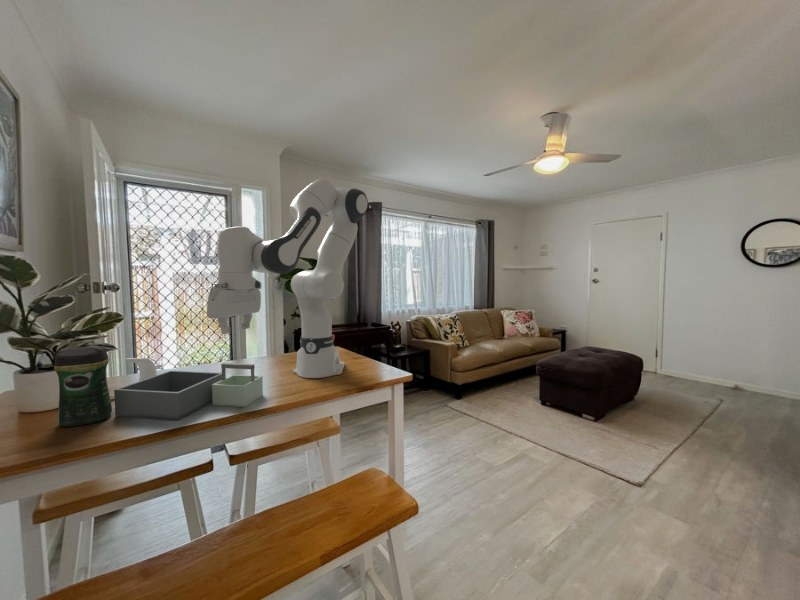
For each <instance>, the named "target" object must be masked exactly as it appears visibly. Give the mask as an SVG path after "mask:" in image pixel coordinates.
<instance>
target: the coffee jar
mask: <svg viewBox="0 0 800 600" xmlns="http://www.w3.org/2000/svg"><path fill="white" fill-rule="evenodd" d="M109 361H110V359H109V354H108V351H107V347H106V346H80V347H71V348H70V347H69V348H65V349H62V350H58V351H57V352H56V354H55V357H54V364H53V365H54V366H53V369H54V371H55V372H56V374H57V376H58V384H59V385H58V386H59V388H58V390H59V391H58V392H59V394H58V395H59V396H58V398H59V399H58V409H57V410H58V413H57V422H58V425H59V426H61V427H66V428H67V427H73V426H74V427H75V426H81V425H87V424H88V425H89V424H93V423H97V422H101V421H102V420H104V419H107V418H109V417H110V416H111V414H112V413H113V408H112V401H111V395H110V392H109V387H108V382H107V381H108V380H107V366H108V365H109Z"/></svg>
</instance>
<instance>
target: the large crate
mask: <svg viewBox="0 0 800 600" xmlns="http://www.w3.org/2000/svg"><path fill="white" fill-rule="evenodd" d="M221 380H222V372H213V371H212V372H211V371H210V372H209V371H187V370H169V371H165V372H162V373H160V374H157V375H156V376H153V377H150V378H148V379H145V380H142V381H139V380H138V381H136V382H133V383H130V384H127V385H124V386H121V387H119V388H115V389H114V390H113V392H114V393H113V395H114V397H113V398H114V414H115V417H117V418H118V417H120V418H136V419H137V418H139V419H152V420H163V421H164V420H166V421H167V420H168V421H180V420H183V419H184V418H186V417H188V416H190V415H192V414H194V413H195V412H197V411H199V410H200V409H203V408H204V407H206V406H209V405H210V404H213V401H212V384H215V383H217V382H219V381H221Z"/></svg>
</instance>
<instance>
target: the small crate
mask: <svg viewBox="0 0 800 600" xmlns="http://www.w3.org/2000/svg"><path fill="white" fill-rule="evenodd" d="M220 366H221V373H222V380H221V381H219V382H217V383H215V384H212V401H213V402H212V406H215V407H216V406H217V407H230V408H231V407H232V408H246V407H247V406H249V405H251V404H252V403H253V402H255V401H256V400H258V399H260V398H261V397H263V395H264V389H263V388H264V387H263V386H264V384H263V383H264V382H263V375H255V364H253V363H234V362H233V363H232V362H231V363H230V362H223V363H221V364H220ZM226 369H234V370H236V369H237V370H250V375H244V374H232V375H230V376H228V377H226V376H227V374H226V371H227V370H226Z"/></svg>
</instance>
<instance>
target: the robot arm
mask: <svg viewBox="0 0 800 600" xmlns="http://www.w3.org/2000/svg"><path fill="white" fill-rule="evenodd" d="M368 207H369V201H368V197H367V195H366V193H365V191H362V190H360V189H357V188H348V187H335V185H334V184H333V182H331V181H330V180H328V179H325V178H318V179H316V180H314V181H312V182H311V183H309V184H308V185H307V186H305V188H303V189H302V190H301V191H300V192H299V193H298V194H297V195H296V196H295V198H294V199H293V200H292V202H291V203H290V206H289V212H290V215H291V217H292V219H293V221H294V223H293V224H292V226H291V227H290V228H289V230H288V231H287V232H286V233H285V234H284V235H283V236H280V237H278V238H275V239H271V240H270V239H269V240H266V239H263V238H261V237H259V235H257V234H255V233H254V232H253V231H251V229H250V228H249V227H247V226H232V227H226V228H223V229H222V230H221V231H220V233H219V235H218V244H217V258H218V261H219V267H218V272H217V277H218V279H217V280H218V281H217V282H218V283H213V285H212V287H210V289H209V293H208V296H207V302H206V303H207V304H206V315H207V317H208V318H209V319H215V320H216V319H217V323H218V325H219V327H220V332H221V334H222V335H223V334H225V335H227V334H230V333H231V326H229V325H228V321H229V318H231V317H238V316H243V317H244V318H243V322H241V329H242V330H247V329H250V327H251V325H250V324H251V321H252V318H253V314H256V313H259V312H260V310H261V304H262V303H261V302H262V301H261V300H262V299H261V297H262V296H261V295H262V294H261V291H260V290H261V289H262V282H261V281H259V279H256V278H255V277H254V276H253V272H256V273H264V274H265V273H266V274H270V273H271V274H279V275H287V274H289V273H290V272H292V271H294V270H295V268H296V267H297V266H298V263H299V261H300V257H301V255H302V252H303V250H304V249H305V246H306V245H307V244H308V243H309V241H310V239H311V238H312V237H313V236H314V234H315V233H316V231H317V229H318V228H319V226H320V224H321V221H322V220H323V219H324V218H325V217H332V224H331V225H330V227H328V230H327V231H326V233H325V235H324V236H323V239H322V241H321V242H320V245H319V247H318V248H317V250H316V255H317V262H316V266H315V267H314V269H310V270H309V269H307V270H306V269H305V270H302V271H300V272H298V273H296V274H295V275H293V276H292V278H291V280H290V288H291V291H292V292H293V294H294V295H295V298H296V300H297V303H298V308H299V312H300V321H301V336H300V338H299V339H300V340H299V343H300V344H299V345H300V348H299V349H298V350H297V352H296V367H295V368H294V369H293V370H292V373H294V374H297V376H298V377H300V378H306V379H320V378H328V377H331V376H332V377H333V376H336V375H337V376H338V375H341V374H343V371H344V369H345V364H346V363H345V362H344V361H341V360H340V352H339V350H338V349H337V348H336V346H335V342H334V340H335V339H336V338H335V337H336V336H335V334H332V333H333V327H332V325H333V321H332V320H333V317H332V314H331V312H330V311H329V309H328V308H327V305H326V301H330V300H334V299H336V298H339V297H340V296H341V295H342V294H343V291H344V287H345V282H344V279H343V274H342V273H343V268H344V265H345V263H346V260H347V258H348V255H349V253H351V252H350V251H351V249H352V247H353V245H354V243H355V240H356V237H357V233H358V228H359V227H358V224H357V223H360V222H361V221H362V219H363V217H364V216H365V214H366V213H367V211H368Z"/></svg>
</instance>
